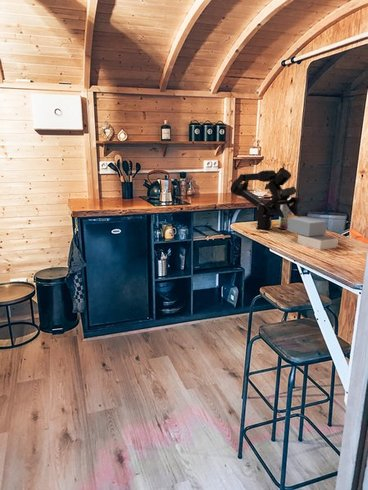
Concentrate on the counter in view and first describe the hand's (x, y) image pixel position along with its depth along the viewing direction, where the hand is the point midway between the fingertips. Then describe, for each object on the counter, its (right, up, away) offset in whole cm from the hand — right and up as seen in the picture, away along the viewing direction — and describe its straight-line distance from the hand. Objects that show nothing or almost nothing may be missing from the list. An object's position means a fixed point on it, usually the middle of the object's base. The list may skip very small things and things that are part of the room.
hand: (290, 217), depth 186 cm
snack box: (+4, -3, +29) cm, 29 cm away
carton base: (+9, -13, -12) cm, 20 cm away
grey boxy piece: (+4, -7, -6) cm, 10 cm away
